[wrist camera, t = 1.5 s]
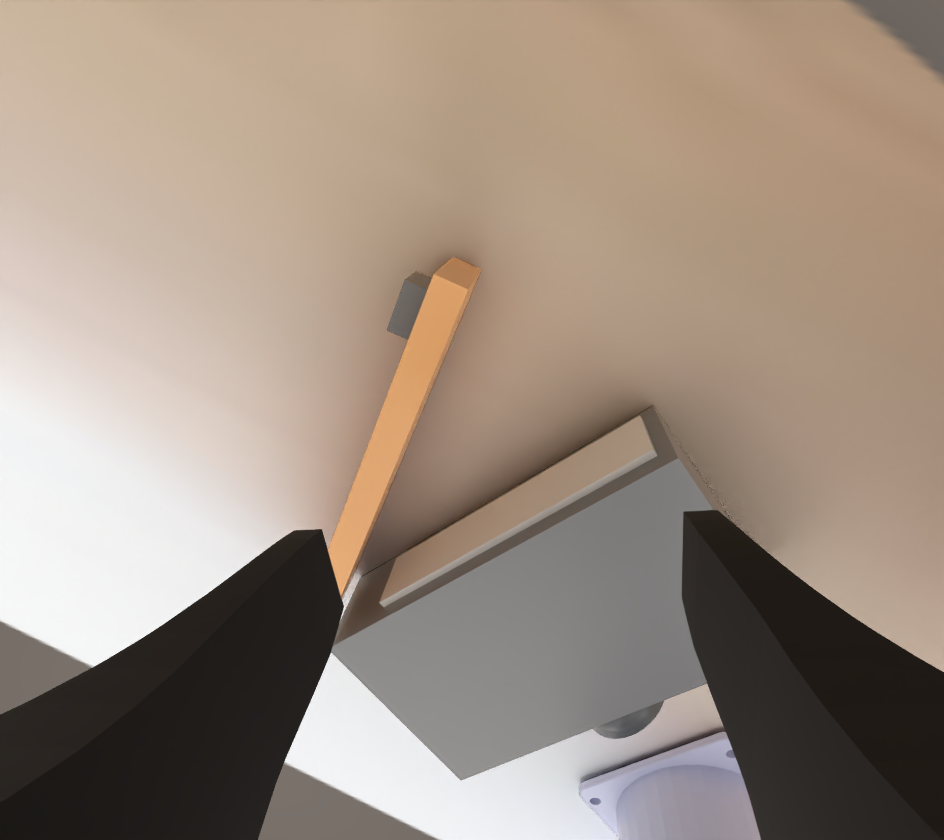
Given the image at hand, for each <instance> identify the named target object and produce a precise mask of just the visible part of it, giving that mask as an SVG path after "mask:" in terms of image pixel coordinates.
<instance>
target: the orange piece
mask: <svg viewBox="0 0 944 840" xmlns="http://www.w3.org/2000/svg"><path fill="white" fill-rule="evenodd" d="M480 272H481V269H479V268H477V267H475V266H473V265H470V264H468V263H466V262H464V261H461V260H459V259H457V258H455V257H452V258H451V259H450V260H449V261H448V262H447V263H445V264H444V265H443V266H442V267H441V268H440V269H439V270H437V271H436V272H435V273H434V274H433V277H432V278H430V277H428V276H426V275H424V274H421V273H419V272H417V271H416V272H415V273H414V274H412V275H411V276H410V277H408V278H407V279H406V280H405V281H404V284H403V287H402V289H401V292H400V295H399V298H398V300H397V303H396V306H395V309H394V311H393V314H392V317H391V320H390V322H389V325H388V328H387V331H389V332H392V333H394V334H396V335H398V336H401V337H403V338H405V339H408V342H407V345H406V347H405V350H404V352H403V355H402V358H401V360H400V363H399V366H398V368H397V371H396V373H395V376H394V379H393V381H392V384H391V386H390V389H389V392H388V394H387V397H386V399H385V402H384V405H383V407H382V410H381V413H380V415H379V418H378V420H377V423H376V426H375V428H374V431H373V433H372V436H371V439H370V441H369V444H368V446H367V449H366V452H365V454H364V457H363V460H362V462H361V465H360V467H359V470H358V473H357V475H356V478H355V480H354V483H353V486H352V488H351V491H350V493H349V496H348V499H347V501H346V504H345V506H344V509H343V512H342V514H341V517H340V520H339V522H338V525H337V527H336V530H335V533H334V535H333V538H332V540H331V543H330V546H329V548H328V553H329V556H330V560H331V563H332V567H333V570H334V574H335V577H336V581H337V584H338V588H339V591H340V595H341V599H343V597H344V595H345V593H346V591H347V588H348V586H349V584H350V582H351V580H352V578H353V575H354V573H355V571H356V568H357V566H358V563H359V561H360V559H361V556H362V554H363V551H364V549H365V547H366V544H367V542H368V540H369V537H370V535H371V532H372V530H373V528H374V525H375V523H376V520H377V518H378V516H379V513H380V511H381V508H382V506H383V504H384V501H385V499H386V497H387V494H388V492H389V489H390V487H391V485H392V482H393V480H394V477H395V475H396V473H397V470H398V468H399V465H400V463H401V461H402V458H403V456H404V454H405V451H406V449H407V446H408V444H409V442H410V439H411V437H412V434H413V432H414V430H415V427H416V425H417V423H418V420H419V418H420V415H421V413H422V411H423V408H424V406H425V403H426V401H427V399H428V396H429V394H430V391H431V389H432V387H433V384H434V382H435V380H436V377H437V375H438V372H439V370H440V368H441V365H442V363H443V360H444V358H445V356H446V353H447V351H448V348H449V346H450V344H451V341H452V339H453V337H454V334H455V332H456V329H457V327H458V325H459V322H460V320H461V317H462V315H463V313H464V310H465V308H466V305H467V303H468V301H469V298H470V296H471V294H472V291H473V289H474V286H475V284H476V282H477V279H478V277H479V274H480Z"/></svg>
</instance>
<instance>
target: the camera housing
mask: <svg viewBox="0 0 944 840" xmlns="http://www.w3.org/2000/svg"><path fill="white" fill-rule="evenodd" d="M705 510H718V511H719V512H721V513H722V514H723V515H724V516H725V517H727V518H728V519H729V520H730V518H729V517H728V515H727V514H726V512H725V511H724V509H723V508H722V506H721V505H720V503H719V502H718V500H717V499H716V497H715V496H714V494H713V493H712V492H711V490H710V489H709V487H708V486H707V484H706V483H705V481H704V480H703V478H702V477H701V475H700V474H699V472H698V471H697V469H696V468H695V466H694V465H693V464H692V462H691V461H690V459H689V458H688V456H687V455H686V453H685V452H684V450H683V449H682V447H681V446H680V444H679V443H678V441H677V440H676V438H675V437H674V435H673V434H672V433H671V431H670V430H669V428H668V427H667V425H666V424H665V422H664V421H663V419H662V418H661V416H660V415H659V413H658V412H657V410H656V409H655V407H654V406H652V407H650V408H648V409H647V410H645V411H643V412H642V413H640V414H638V415H636V416H635V417H633V418H631V419H630V420H628V421H626V422H624V423H623V424H621V425H619V426H618V427H616V428H614V429H613V430H611V431H609V432H607V433H606V434H604V435H602V436H601V437H599V438H597V439H596V440H594V441H592V442H590V443H589V444H587V445H585V446H584V447H582V448H580V449H579V450H577V451H575V452H573V453H572V454H570V455H568V456H567V457H565V458H563V459H561V460H560V461H558V462H556V463H555V464H553V465H551V466H550V467H548V468H546V469H544V470H543V471H541V472H539V473H538V474H536V475H534V476H533V477H531V478H529V479H527V480H526V481H524V482H522V483H521V484H519V485H517V486H515V487H514V488H512V489H510V490H509V491H507V492H505V493H504V494H502V495H500V496H498V497H497V498H495V499H493V500H492V501H490V502H488V503H487V504H485V505H483V506H481V507H480V508H478V509H476V510H475V511H473V512H471V513H469V514H468V515H466V516H464V517H463V518H461V519H459V520H458V521H456V522H454V523H452V524H451V525H449V526H447V527H446V528H444V529H442V530H441V531H439V532H437V533H435V534H434V535H432V536H430V537H429V538H427V539H425V540H423V541H422V542H420V543H418V544H417V545H415V546H413V547H412V548H410V549H408V550H406V551H405V552H403V553H401V554H400V555H398V556H396V557H395V558H393V559H391V560H389V561H388V562H386V563H384V564H383V565H381V566H379V567H377V568H376V569H374V570H372V571H371V572H369V573H367V574H366V575H364V576H362V577H360V580H359V582H358V584H357V586H356V588H355V591H354V593H353V595H352V597H351V599H350V601H349V604H348V606H347V608H346V610H345V612H344V615H343V617H342V619H341V621H340V623H339V626H338V630H337V634H336V637H335V640H334V644H333V647H332V650H331V652H332V653H333V654H334V655H335V656H336V657H337V658H338V659H339V660H340V661H341V662H342V663H343V664H344V665H345V666H346V667H347V668H348V669H349V670H350V671H351V672H352V673H353V674H354V675H355V676H356V677H357V678H358V679H359V680H360V681H361V682H362V683H363V684H364V685H365V686H366V687H367V688H368V689H369V690H370V691H371V692H372V693H373V694H374V695H375V696H376V697H377V698H378V699H379V700H380V701H381V702H382V703H383V704H384V705H385V706H386V707H387V708H388V709H389V710H390V711H391V712H392V713H393V714H394V715H395V716H396V717H397V718H398V719H399V720H400V721H401V722H402V723H403V724H404V725H405V726H406V727H407V728H408V729H409V730H410V731H411V732H412V733H413V734H414V735H415V736H416V737H417V738H418V739H419V740H420V741H422V742H423V743H424V744H425V745H426V746H427V747H428V748H429V749H430V750H431V751H432V752H433V753H434V754H435V755H436V756H437V757H438V758H439V759H440V760H441V761H442V762H443V763H444V764H445V765H446V766H447V767H448V768H449V769H450V770H451V771H452V772H453V773H454V774H455V775H456V776H457V777H458V778H459V779H460V780H463V779H466V778H468V777H471V776H473V775H476V774H479V773H481V772H484V771H486V770H489V769H491V768H494V767H496V766H499V765H501V764H504V763H506V762H509V761H511V760H514V759H517V758H519V757H522V756H524V755H527V754H529V753H532V752H534V751H537V750H539V749H542V748H544V747H547V746H549V745H552V744H555V743H557V742H560V741H562V740H565V739H567V738H570V737H572V736H575V735H577V734H580V733H582V732H585V731H587V730H590V729H594V730H595V731H596V732H597V733H598V734H600V735H602V736H604V737H607V738H613V739H617V738H625V737H628V736H631V735H633V734H636V733H638V732H639V731H641V730H642V729H644V728H645V727H646V726H647V725H648V724H650V723H651V722H652V720H653V719H654V718H655V717H656V715H657V714H658V712H659V711H660V709H661V707H662V705H663V702H664V700H666V699H669V698H671V697H674V696H676V695H679V694H681V693H684V692H686V691H689V690H691V689H694V688H696V687H699V686H702V685H704V684H707V681H706V679H705V676H704V673H703V671H702V668H701V665H700V663H699V660H698V657H697V654H696V652H695V649H694V646H693V642H692V638H691V634H690V630H689V626H688V622H687V618H686V614H685V610H684V605H683V601H682V551H683V512H684V511H705ZM730 521H731V520H730ZM731 522H732V521H731ZM732 523H733V522H732Z"/></svg>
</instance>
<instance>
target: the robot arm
mask: <svg viewBox="0 0 944 840" xmlns="http://www.w3.org/2000/svg"><path fill="white" fill-rule="evenodd" d="M682 601H683V605H684V610H685V614H686V618H687V622H688V626H689V630H690V634H691V638H692V642H693V646H694V649H695V652H696V654H697V657H698V660H699V663H700V665H701V668H702V671H703V673H704V676H705V679H706V681H707V684H708V687H709V689H710V692H711V694H712V697H713V700H714V702H715V705H716V708H717V710H718V713H719V715H720V718H721V721H722V723H723V726H724V729H725V731H726V732H719V733H716V734H714V735H711V736H708V737H705V738H703V739H700V740H697V741H694V742H692V743H689V744H686V745H683V746H680V747H678V748H675V749H672V750H669V751H667V752H664V753H661V754H658V755H656V756H653V757H650V758H647V759H644V760H642V761H639V762H636V763H633V764H631V765H628V766H625V767H622V768H620V769H617V770H614V771H611V772H609V773H606V774H603V775H600V776H597V777H595V778H592V779H589V780H586V781H584V782H582V783H581V784H580V785H579V795H580V797H581V798H582V799H583V800H584V801H585V802H586V803H587V804H588V806H589V807H590V808H591V809H592V810H593V811H594V812H595V813H596V814H597V815H598V816H599V817H600V818H601V819H602V821H603V822H604V823H605V824H606V825H607V826H608V827H609V828H610V829H611V830H612V831H613V832H614V833H615V834H616V836H617V837H618V838H619V840H944V672H942V671H940V670H939V669H937V668H935V667H933V666H932V665H930V664H928V663H926V662H925V661H923V660H921V659H919V658H918V657H916V656H914V655H913V654H911V653H909V652H908V651H906V650H905V649H903V648H901V647H900V646H898V645H896V644H895V643H893V642H892V641H890V640H888V639H887V638H885V637H883V636H882V635H880V634H879V633H877V632H875V631H874V630H872V629H871V628H869V627H868V626H866V625H864V624H863V623H861V622H860V621H858V620H857V619H855V618H854V617H852V616H851V615H850V614H848V613H847V612H845V611H844V610H842V609H841V608H840V607H838V606H837V605H835V604H834V603H833V602H831V601H830V600H828V599H827V598H826V597H824V596H823V595H821V594H820V593H818V592H817V591H816V590H814V589H813V588H812V587H810V586H809V585H808V584H807V583H805V582H804V581H803V580H801V579H800V578H799V577H797V576H796V575H795V574H793V573H792V572H791V571H790V570H788V569H787V568H786V567H785V566H783V565H782V564H781V563H780V562H778V561H777V560H776V559H775V558H773V557H772V556H771V555H770V554H769V553H767V552H766V551H765V550H764V549H763V548H762V547H760V546H759V545H758V544H757V543H756V542H754V541H753V540H752V539H751V538H750V537H749V536H747V535H746V534H745V533H744V532H743V531H742V530H740V529H739V528H738V527H737V526H736V525H735V524H733V523H732V522H731V521H730V520H729V519H728V518H727V517H725V516H724V515H723V514H722V513H721V512H719V511H718V510H705V511H684V512H683V551H682ZM343 607H344V606H343V602H342V599H341V595H340V591H339V588H338V584H337V581H336V577H335V574H334V570H333V567H332V563H331V560H330V556H329V553H328V549H327V546H326V542H325V539H324V535H323V532H322V529H316V530H296V531H293V532H291V533H290V534H288V535H287V536H285V537H284V538H282V539H281V540H279V541H278V542H276V543H275V544H274V545H272V546H271V547H269V548H268V549H267V550H265V551H264V552H263V553H261V554H260V555H259V556H257V557H256V558H255V559H253V560H252V561H251V562H249V563H248V564H247V565H245V566H244V567H243V568H241V569H240V570H239V571H237V572H236V573H235V574H233V575H232V576H231V577H229V578H228V579H227V580H225V581H224V582H223V583H221V584H220V585H219V586H217V587H216V588H215V589H213V590H212V591H211V592H209V593H208V594H206V595H205V596H204V597H202V598H201V599H199V600H198V601H196V602H195V603H194V604H192V605H191V606H189V607H188V608H186V609H185V610H183V611H182V612H181V613H179V614H178V615H176V616H175V617H173V618H172V619H171V620H169V621H168V622H166V623H165V624H163V625H162V626H160V627H159V628H157V629H156V630H154V631H153V632H151V633H150V634H148V635H146V636H145V637H143V638H142V639H140V640H139V641H137V642H135V643H134V644H132V645H130V646H129V647H127V648H125V649H124V650H122V651H120V652H119V653H117V654H115V655H114V656H112V657H110V658H109V659H107V660H105V661H103V662H102V663H100V664H98V665H96V666H95V667H93V668H91V669H89V670H88V671H86V672H83V673H82V674H80V675H78V676H76V677H74V678H72V679H70V680H68V681H66V682H65V683H63V684H61V685H59V686H57V687H55V688H53V689H52V690H50V691H48V692H46V693H44V694H42V695H40V696H38V697H36V698H34V699H32V700H30V701H28V702H26V703H24V704H22V705H20V706H18V707H16V708H14V709H11V710H9V711H7V712H5V713H3V714H1V715H0V840H258V837H259V834H260V831H261V828H262V825H263V821H264V818H265V815H266V812H267V809H268V806H269V803H270V800H271V797H272V794H273V791H274V788H275V784H276V782H277V779H278V776H279V774H280V771H281V769H282V766H283V764H284V761H285V759H286V756H287V754H288V752H289V749H290V747H291V745H292V742H293V740H294V738H295V735H296V733H297V731H298V729H299V726H300V724H301V722H302V719H303V717H304V715H305V712H306V710H307V708H308V705H309V703H310V701H311V699H312V696H313V694H314V692H315V689H316V687H317V685H318V682H319V680H320V677H321V675H322V673H323V670H324V668H325V666H326V663H327V661H328V658H329V656H330V653H331V650H332V647H333V644H334V640H335V637H336V634H337V630H338V626H339V622H340V619H341V615H342V611H343Z"/></svg>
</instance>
